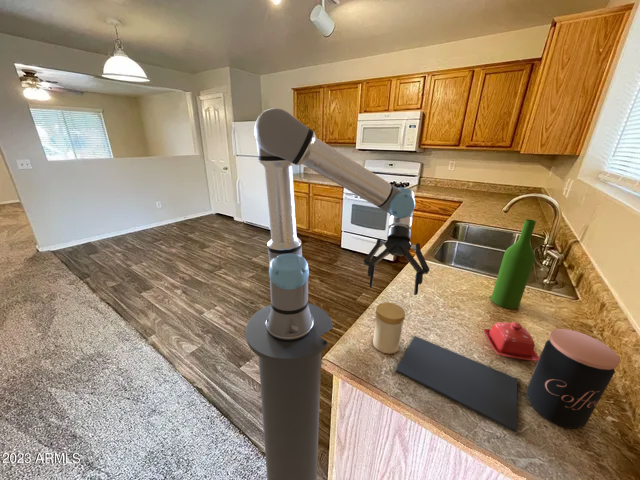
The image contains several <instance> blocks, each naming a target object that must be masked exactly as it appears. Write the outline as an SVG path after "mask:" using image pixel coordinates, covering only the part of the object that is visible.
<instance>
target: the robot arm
mask: <svg viewBox="0 0 640 480" xmlns="http://www.w3.org/2000/svg"><path fill="white" fill-rule="evenodd" d="M253 132H254V133H253V134H254V138H255V141H256V151H257V159H258V162H259V163H260V164H261V165H262V166H263V168H264V177H265V188H266V189H265V190H266V198H267V209H268V218H269V229H270V238H271V239H270V240H268V241H267V253H268V265H269V268H268V276H269V289H270V305H271V308H270V311H269V315H268V318H267V321H266V329H267V332H268V334H269V335H270V336H271V337H272V338H274V339H276V340H279V341H284V342H293V341H298V340H301V339H303V338H305V337H306V336H308V335H309V334H310V333H311V331H312V329H313V317H312V315H311V313H310V309H309V306H308V303H309V276H310V269H309V264H308V261H307V260H306V259H305V257H304V256H303V247H302V240H301V239H300V238H299V237H298V236H297V222H296V221H297V220H296V205H295V187H294V173H293V165H295V166H300V165H303V166H305V167H307V168H308V169H310V170H312V171H314V172H315V173H317V174H319V175H320V176H323V178H326V179H328V180H329V181H331V182H333V183H335V184H337V185H338V186H340V187H342V188H343V189H345V190H347V191H349V192H351V193H352V194H353V195H354V194H355V195H356V196H358V197H359V198H361V199H363V200H365V201H366V202H368V203H370V204H372V205H373V206H376V207H377V208H379V209H381V210H382V211H384V212H386V213H387V214H389V220H388V227H387V228H388V229H387V235H386V239H385V240H382V239H381V238H377V239H376V243H375V244H374V246H373V247H372V249H371V250H370V251H369V253H368V254H367V256H365V258H364V259H363V265H364V266H366V267H368V268H367V277H369V278H370V279H369V288H370V289H373V283H374V277H375V268H376V267H375V266H377V264H379V263H380V262H381V261H382V260H383V259H384V258H386V257H388V256H389V255H391V256H393V257H394V256H397V257H402V256H403V257H404V258H405V260H407V261H408V263H409V264H410V266H411V267H412V268H413V269H414V271H415V272H416V273H415V277H414V288H413V289H414V290H413V295H414V296H417V295H418V293H419V285H420V286H421V285H422V284H423V279H424V275H428V274H429V272H430V267H429V265H428V263H427V261H426V259H425V257H424V254H423V252H422V251H421V244H420V243H418V242H417V243H415V244H412V243H411V235H412V227H413V226H412V225H413V224H412V223H413V213H414V210H415V208H416V199H415V194H414V192H413V190H411V189H410V188H408V187H403V186H402V187H397V186H395V185H394V184H391V183H390V182H388V181H387V180H385V179H384V178H382V177H381V176H379V175H377V174H376V173H374V172H372V171H371V170H369V169H368V168H366V167H364V165H362V164H360V163H358V162H356V161H355V160H353V159H352V158H350V157H348V156H347V155H345V154H343V153H342V152H341V151H338V150H337V149H335V148H334V147H332V146H330V145H329V144H327V143H326V142H324V141H323V140H321V139H319V138H318V137H317V135H316V132H315V131H314V130H313V129H311V128H310V127H308V126H306V124H304V123H302V122H301V121H300V120H298V119H297V118H296V117H295V116H293V115H292V114H291V113H290V112H288V111H287V110H284V109H282V108H277V107H276V108H275V107H273V108H269V109H266V110H264V111H263V112H261V113H260V115H258V117H257V119H256V120H255V123H254V129H253ZM383 246H384V247H385V249H384V250H383V251H381V252H380V253H379V254H378V255H376V254H377V252H378V251H379V249H380V248H382V247H383ZM410 250H412V251H413V252H414V253H415V255H416V258H417V260H418V262H419V263H418V262H417V260H416V259H415V258H414V257H413V255H412V254H411V252H410ZM375 255H376V256H375Z"/></svg>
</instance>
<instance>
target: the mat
mask: <svg viewBox="0 0 640 480" xmlns="http://www.w3.org/2000/svg"><path fill="white" fill-rule="evenodd" d="M395 372H396V373H398V374H400V375H401V376H404V377H406V378H408V379H410V380H412V381H414V382H416V383H418V384H420V385H422V386H424V387H426V388H427V389H429V390H432V391H433V392H436V393H437V394H439V395H441V396H442V397H445V398H447V399H449V400H451V401H453V402H455V403H457V404H459V405H461V406H463V407H465V408H467V409H469V410H471V411H472V412H474V413H476V414H479V415H481V416H483V417H484V418H487V419H488V420H491V421H493V422H494V423H496V424H498V425H501V426H503V427H505V428H506V429H508V430H510V431H512V432H514V433H517V431H518V378H516V377H514V376H512V375H509V374H507V373H505V372H502V371H499V370H498V369H495V368H492V367H490V366H488V365H484V364H482V363H480V362H478V361H476V360H473V359H471V358H468V357H466V356H463V355H461V354H458V353H456V352H454V351H452V350H449V349H447V348H445V347H442V346H440V345H437V344H435V343H433V342H430V341H428V340H425V339H423V338H421V337H418V336H415V335H414V336H413V338H412V340H411V342H410V344H408V347H407V349H406V350H405V352H404V354H403V356H402V358H401V360H400V362H399V364H398V365H397V367H396V369H395Z"/></svg>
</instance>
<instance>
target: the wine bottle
mask: <svg viewBox="0 0 640 480" xmlns="http://www.w3.org/2000/svg"><path fill="white" fill-rule="evenodd" d="M536 223H537V221H536V220H533V219H528V218H527V219H525V220H524V223H523V226H522V229H521V232H520V234H519V238H518V240H516V242H514V243H513V244H512V245H510V246H509V247H507V248H506V250H505V251H504V254H503V257H502V261H501V264H500V267H499V270H498V274H497V276H496V281H495V284H494V287H493V290H492V293H491V297H490V298H491V301H492V302H493V303H494V304H495V305H497V306H499V307H502V308H505V309H511V310H514V309H515V310H516V309H518V308H519V306H520V304H521V301H522V298H523V296H524V293H525V290H526V287H527V284H528V281H529V278H530V275H531V273H532V269H533V266H534V263H535V261H536V254H535V251H534V250H533V247H532V244H531V239H532V236H533V233H534V230H535V226H536Z"/></svg>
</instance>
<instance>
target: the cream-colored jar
mask: <svg viewBox="0 0 640 480" xmlns="http://www.w3.org/2000/svg"><path fill="white" fill-rule="evenodd" d="M403 326H404V321H403V322H401V323H399V324H388V323H385V322H383V321H381V320H380V319H379V318H378V317H377V315H376V314H375V322H374V331H373V339H372V345H373V346H374V348H375V349H376V350H377V351H379V352H381V353H384V354H395V353H397V352H398V351H399V349H400V344H401V339H402V333H403V328H404V327H403Z"/></svg>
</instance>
